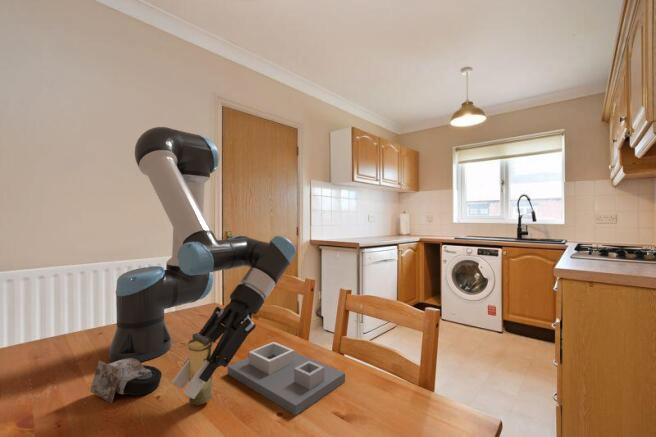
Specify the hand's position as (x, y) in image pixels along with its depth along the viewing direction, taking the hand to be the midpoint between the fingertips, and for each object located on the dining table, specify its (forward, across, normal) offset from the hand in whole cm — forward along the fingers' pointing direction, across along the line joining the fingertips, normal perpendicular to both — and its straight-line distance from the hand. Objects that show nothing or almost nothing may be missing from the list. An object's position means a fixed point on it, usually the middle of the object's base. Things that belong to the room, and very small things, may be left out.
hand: (182, 390), depth 60 cm
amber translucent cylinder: (0, 0, -5) cm, 5 cm away
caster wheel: (+6, +17, -1) cm, 18 cm away
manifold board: (-12, -6, -18) cm, 23 cm away
